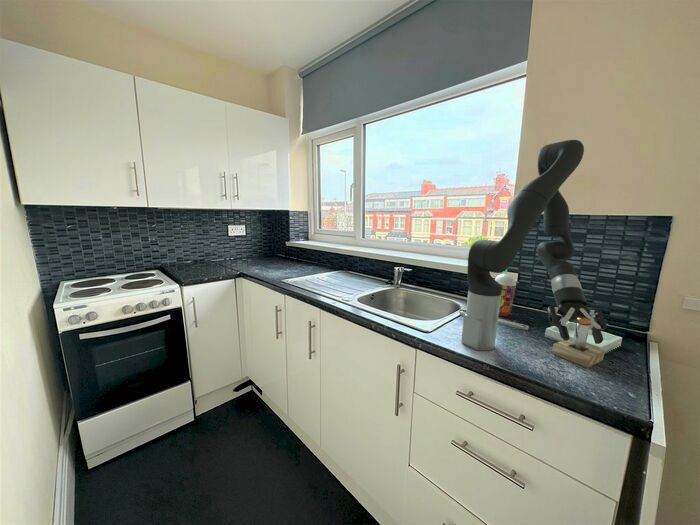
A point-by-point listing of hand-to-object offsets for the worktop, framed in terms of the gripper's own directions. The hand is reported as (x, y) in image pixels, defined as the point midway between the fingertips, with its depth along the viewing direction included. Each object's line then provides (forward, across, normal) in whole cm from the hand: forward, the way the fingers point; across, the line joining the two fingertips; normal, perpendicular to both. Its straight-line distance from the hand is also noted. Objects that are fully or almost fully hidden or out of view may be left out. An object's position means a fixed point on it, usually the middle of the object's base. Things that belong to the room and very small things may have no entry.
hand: (582, 341), depth 81 cm
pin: (+3, 0, +5) cm, 6 cm away
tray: (-6, +8, +14) cm, 16 cm away
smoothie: (-20, -11, +28) cm, 37 cm away
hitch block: (+3, 0, +5) cm, 6 cm away
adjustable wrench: (-14, -18, +22) cm, 32 cm away
